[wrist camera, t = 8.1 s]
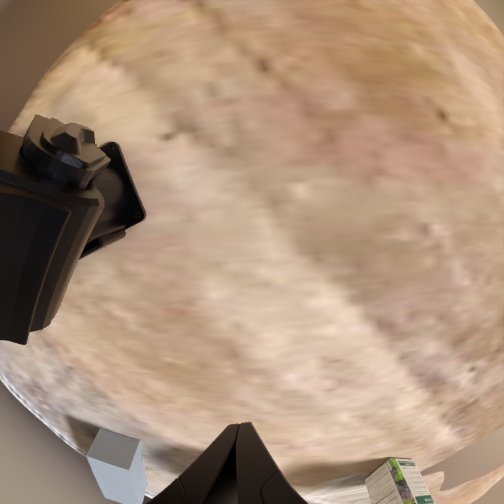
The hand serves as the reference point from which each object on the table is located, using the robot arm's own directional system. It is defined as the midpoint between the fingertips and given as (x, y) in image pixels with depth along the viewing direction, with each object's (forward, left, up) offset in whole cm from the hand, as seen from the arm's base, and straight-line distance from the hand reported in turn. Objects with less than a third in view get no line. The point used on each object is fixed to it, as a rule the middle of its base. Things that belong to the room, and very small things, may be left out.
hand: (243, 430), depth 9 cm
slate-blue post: (+11, -20, -11) cm, 25 cm away
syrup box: (+33, +8, -13) cm, 37 cm away
